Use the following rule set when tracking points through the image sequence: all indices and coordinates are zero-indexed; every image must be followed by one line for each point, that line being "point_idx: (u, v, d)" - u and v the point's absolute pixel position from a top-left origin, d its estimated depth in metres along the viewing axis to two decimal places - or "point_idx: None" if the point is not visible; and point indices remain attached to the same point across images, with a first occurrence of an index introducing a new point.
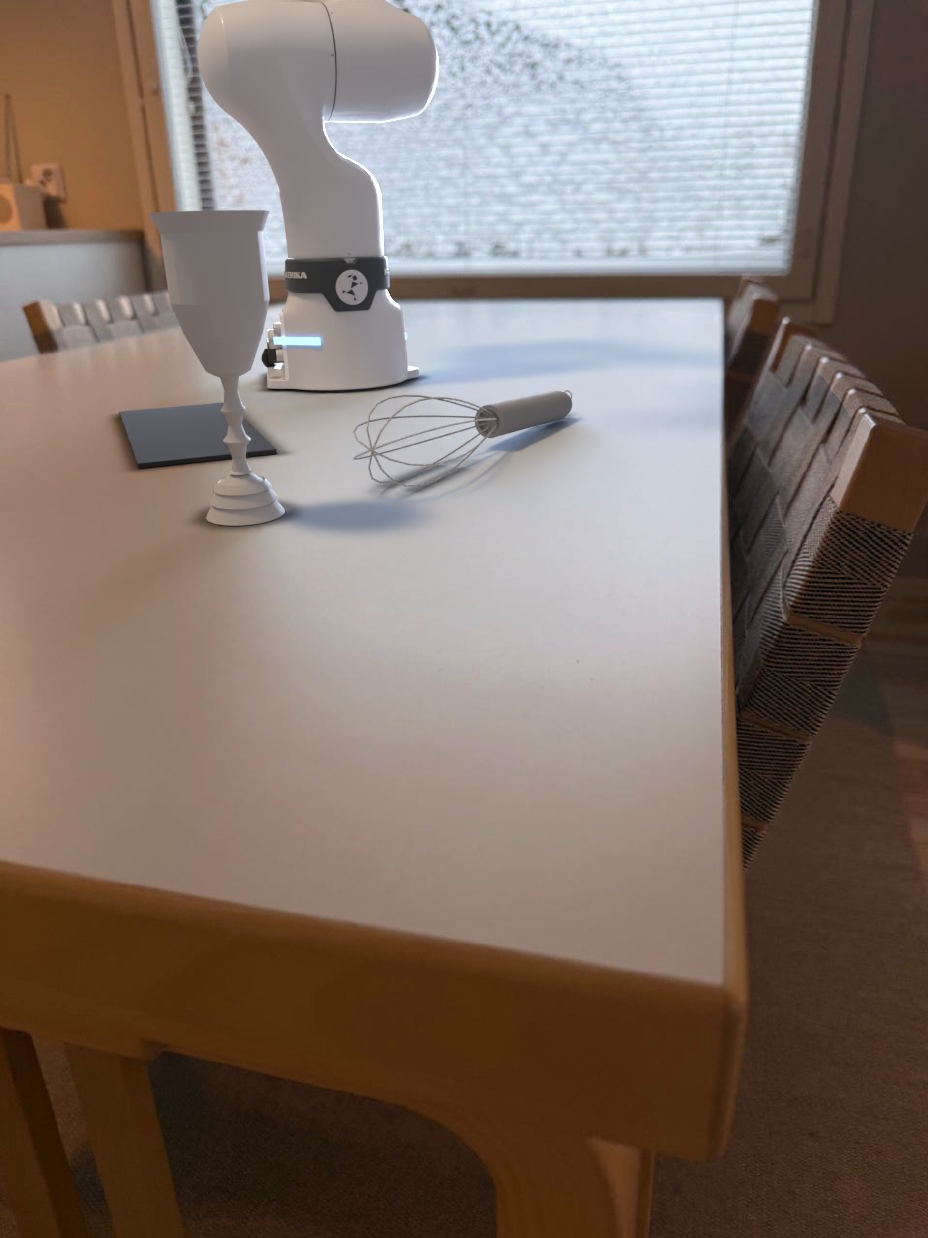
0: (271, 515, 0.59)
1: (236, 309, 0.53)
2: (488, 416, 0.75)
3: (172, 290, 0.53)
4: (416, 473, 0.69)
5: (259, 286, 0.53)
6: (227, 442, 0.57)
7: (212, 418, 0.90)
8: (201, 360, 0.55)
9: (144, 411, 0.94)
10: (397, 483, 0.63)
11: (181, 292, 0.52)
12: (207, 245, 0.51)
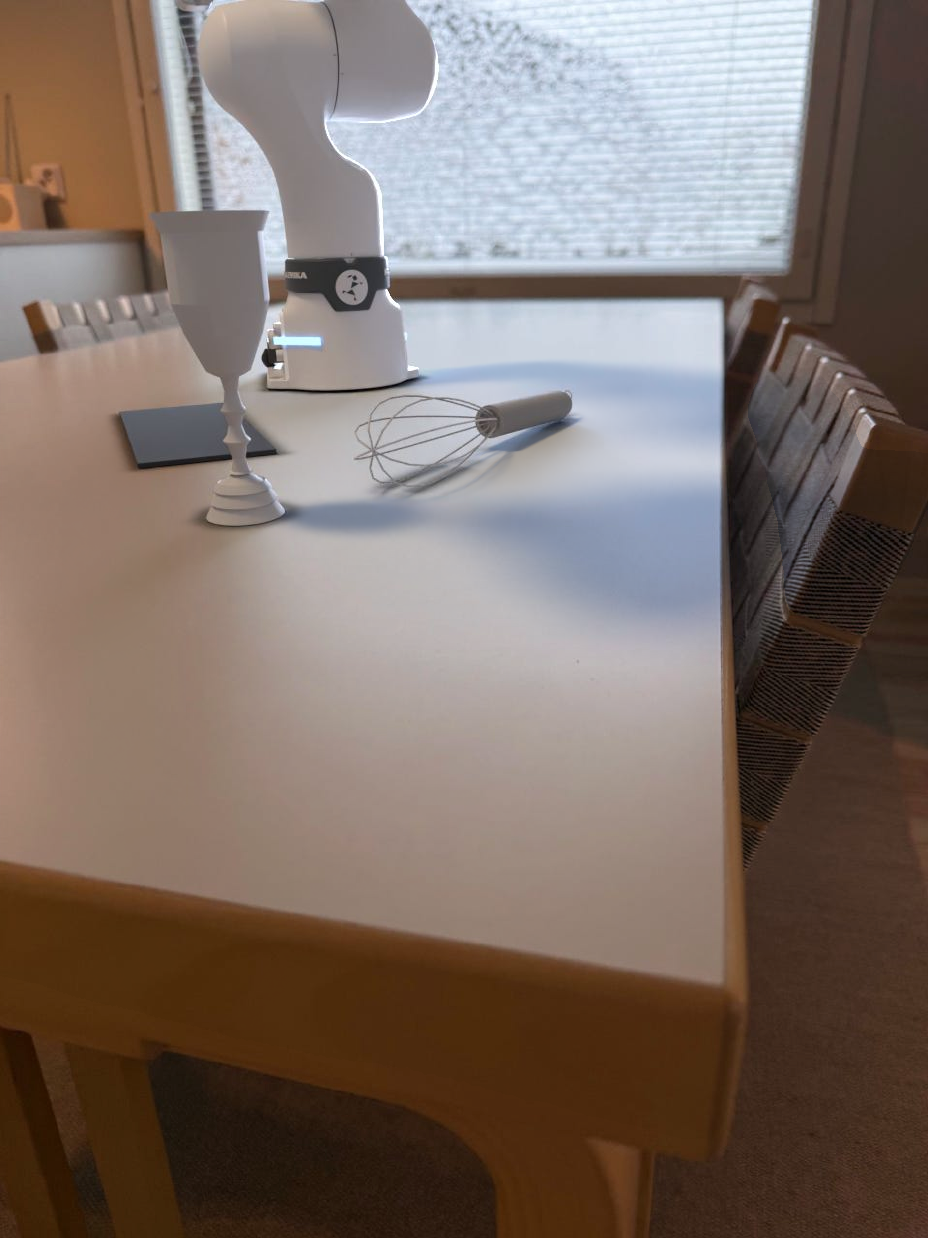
0: (271, 515, 0.59)
1: (236, 309, 0.53)
2: (489, 416, 0.75)
3: (172, 290, 0.53)
4: (417, 473, 0.69)
5: (259, 286, 0.53)
6: (227, 442, 0.57)
7: (212, 418, 0.90)
8: (201, 360, 0.55)
9: (144, 411, 0.94)
10: (398, 483, 0.63)
11: (181, 292, 0.52)
12: (207, 245, 0.51)
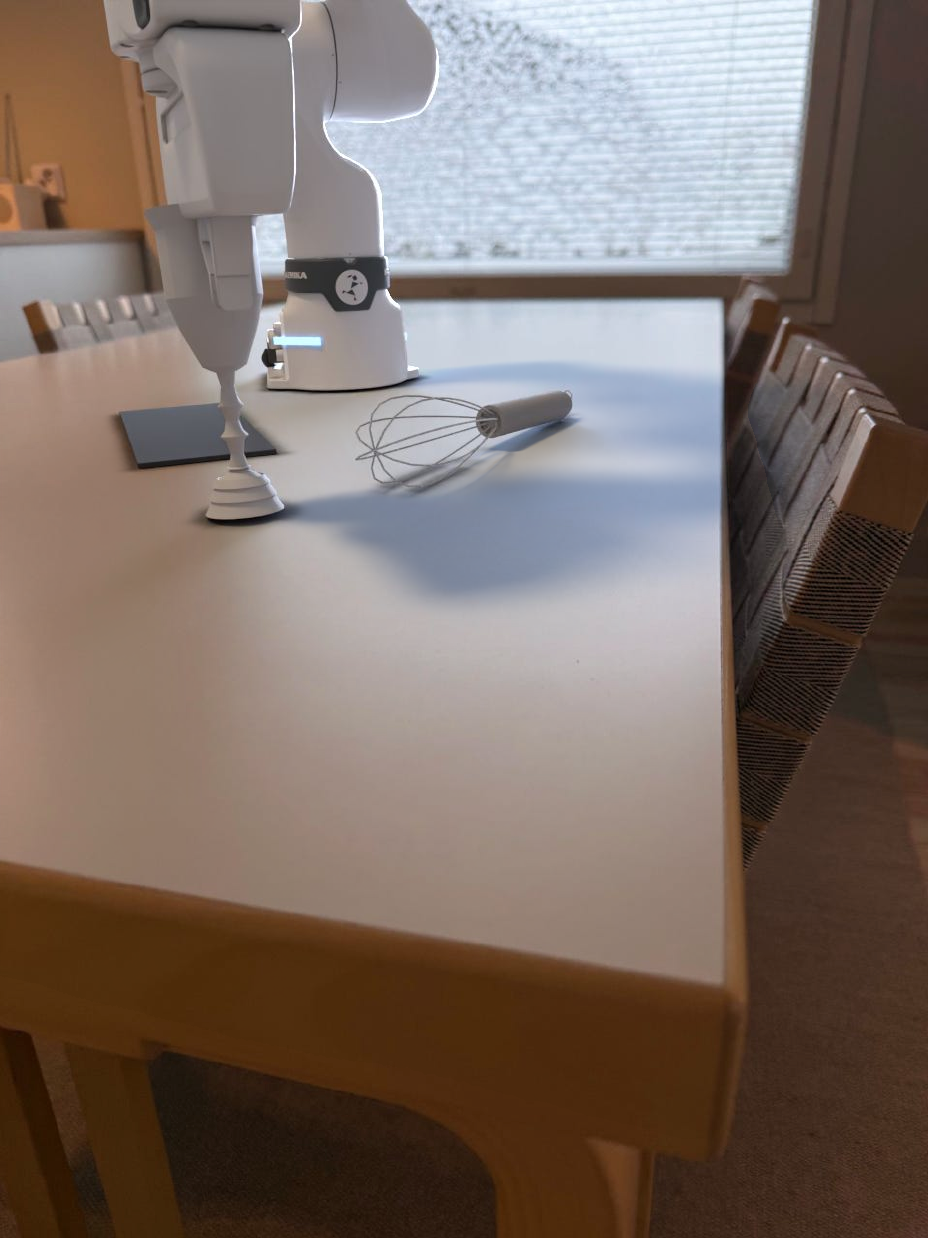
0: (270, 508, 0.59)
1: None
2: (489, 416, 0.75)
3: (167, 285, 0.54)
4: (418, 473, 0.69)
5: (252, 278, 0.54)
6: (225, 437, 0.58)
7: (212, 418, 0.90)
8: (197, 355, 0.56)
9: (144, 411, 0.94)
10: (400, 483, 0.63)
11: (175, 285, 0.53)
12: None
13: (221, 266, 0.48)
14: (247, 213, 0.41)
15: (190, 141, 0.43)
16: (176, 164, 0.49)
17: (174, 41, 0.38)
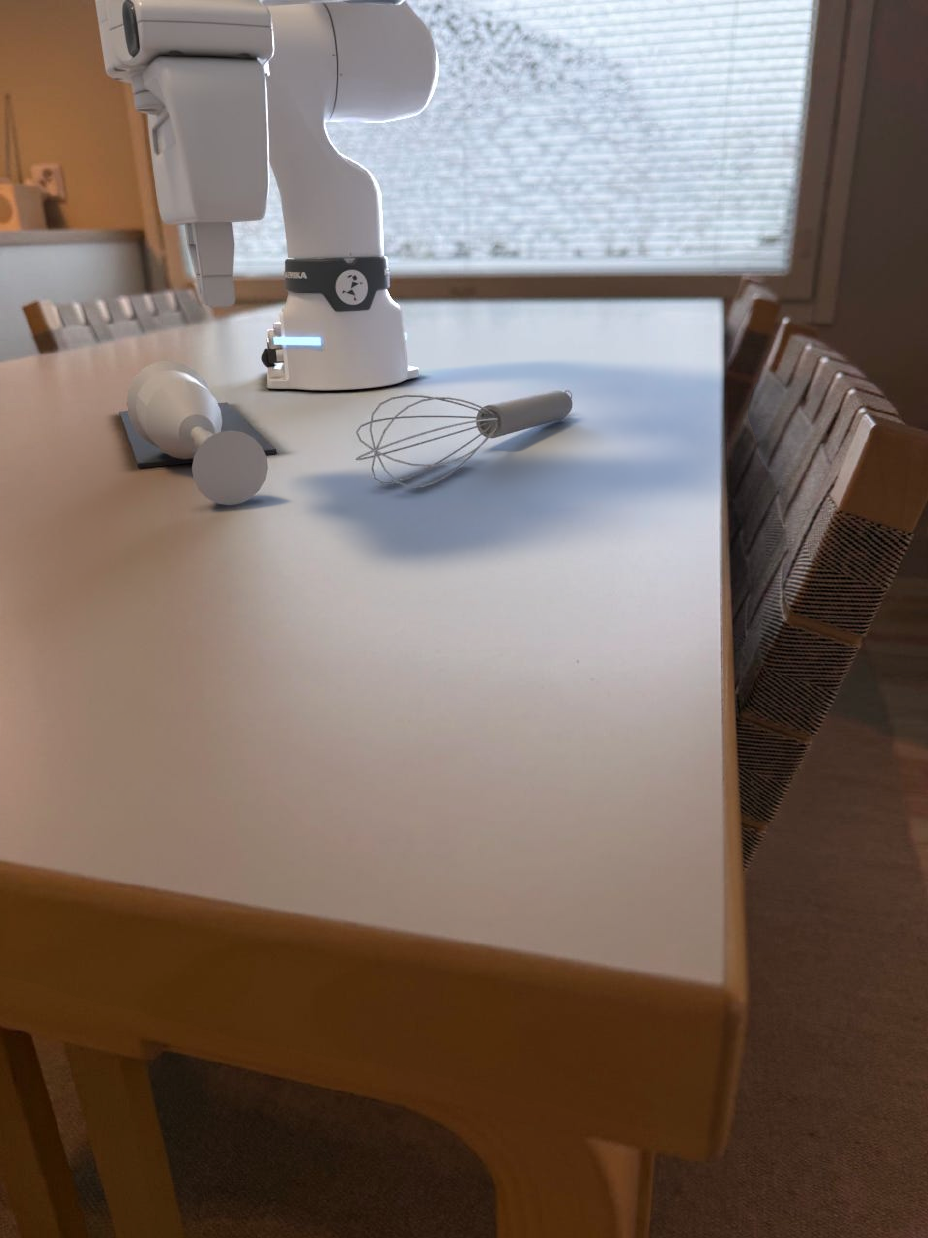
0: None
1: (182, 382, 0.70)
2: (489, 416, 0.75)
3: (144, 414, 0.71)
4: (418, 473, 0.69)
5: (201, 384, 0.72)
6: (201, 444, 0.64)
7: None
8: (171, 429, 0.68)
9: None
10: (400, 483, 0.63)
11: (146, 402, 0.70)
12: (157, 377, 0.72)
13: (206, 267, 0.54)
14: (226, 220, 0.46)
15: (176, 155, 0.49)
16: (165, 174, 0.55)
17: (160, 69, 0.44)
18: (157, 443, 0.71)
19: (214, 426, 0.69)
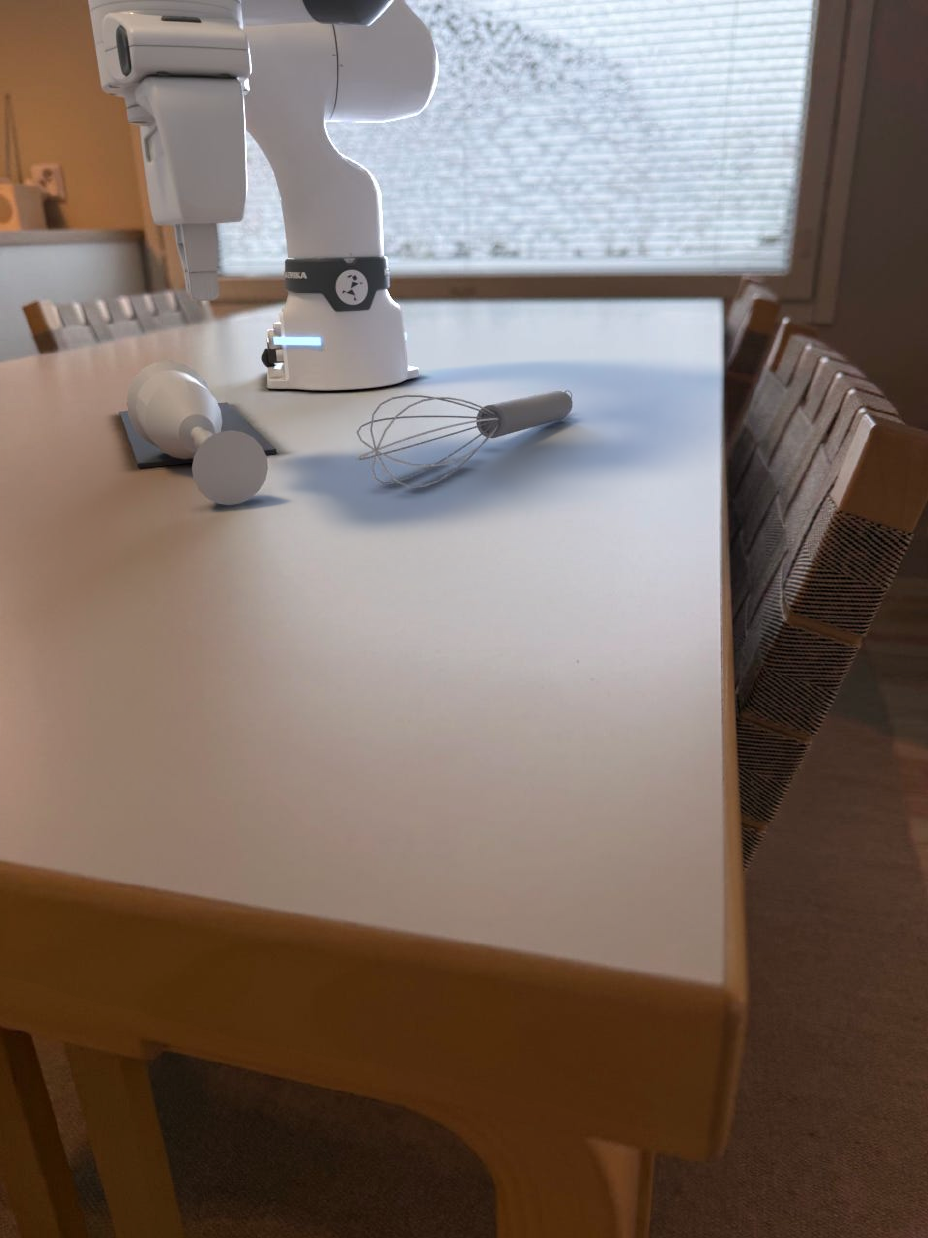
0: None
1: (182, 382, 0.70)
2: (490, 416, 0.75)
3: (144, 414, 0.71)
4: (419, 473, 0.69)
5: (201, 384, 0.72)
6: (201, 444, 0.64)
7: None
8: (171, 429, 0.68)
9: None
10: (401, 483, 0.63)
11: (146, 402, 0.70)
12: (158, 377, 0.72)
13: (193, 264, 0.59)
14: (209, 222, 0.52)
15: (165, 163, 0.54)
16: (156, 180, 0.60)
17: (150, 87, 0.49)
18: (157, 443, 0.71)
19: (214, 426, 0.69)
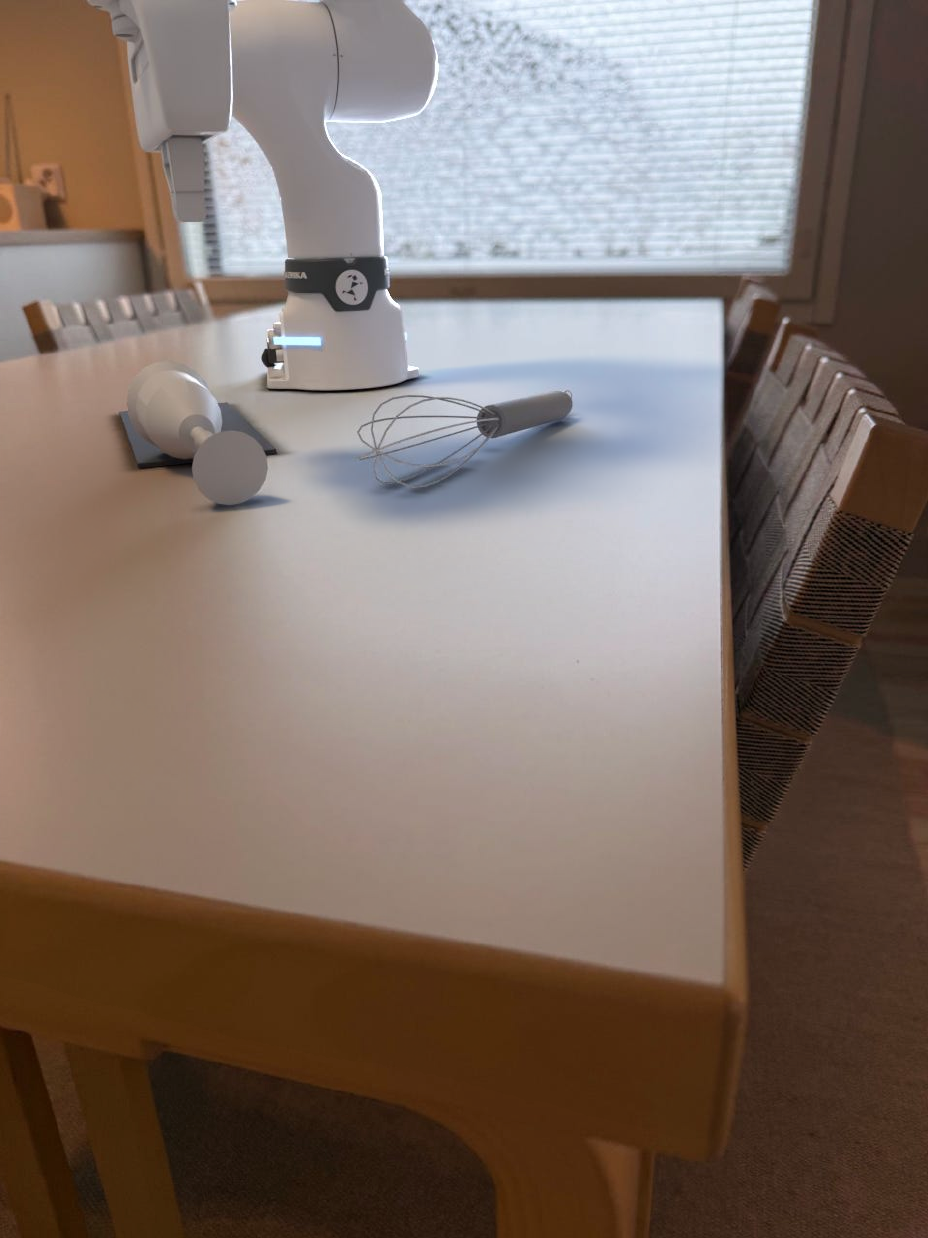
0: None
1: (182, 382, 0.70)
2: (490, 416, 0.75)
3: (144, 414, 0.71)
4: (419, 473, 0.69)
5: (201, 384, 0.72)
6: (201, 444, 0.64)
7: None
8: (171, 429, 0.68)
9: None
10: (402, 483, 0.63)
11: (146, 402, 0.70)
12: (158, 377, 0.72)
13: (179, 183, 0.58)
14: (194, 130, 0.51)
15: (150, 74, 0.53)
16: (142, 98, 0.59)
17: None
18: (157, 443, 0.71)
19: (214, 426, 0.69)
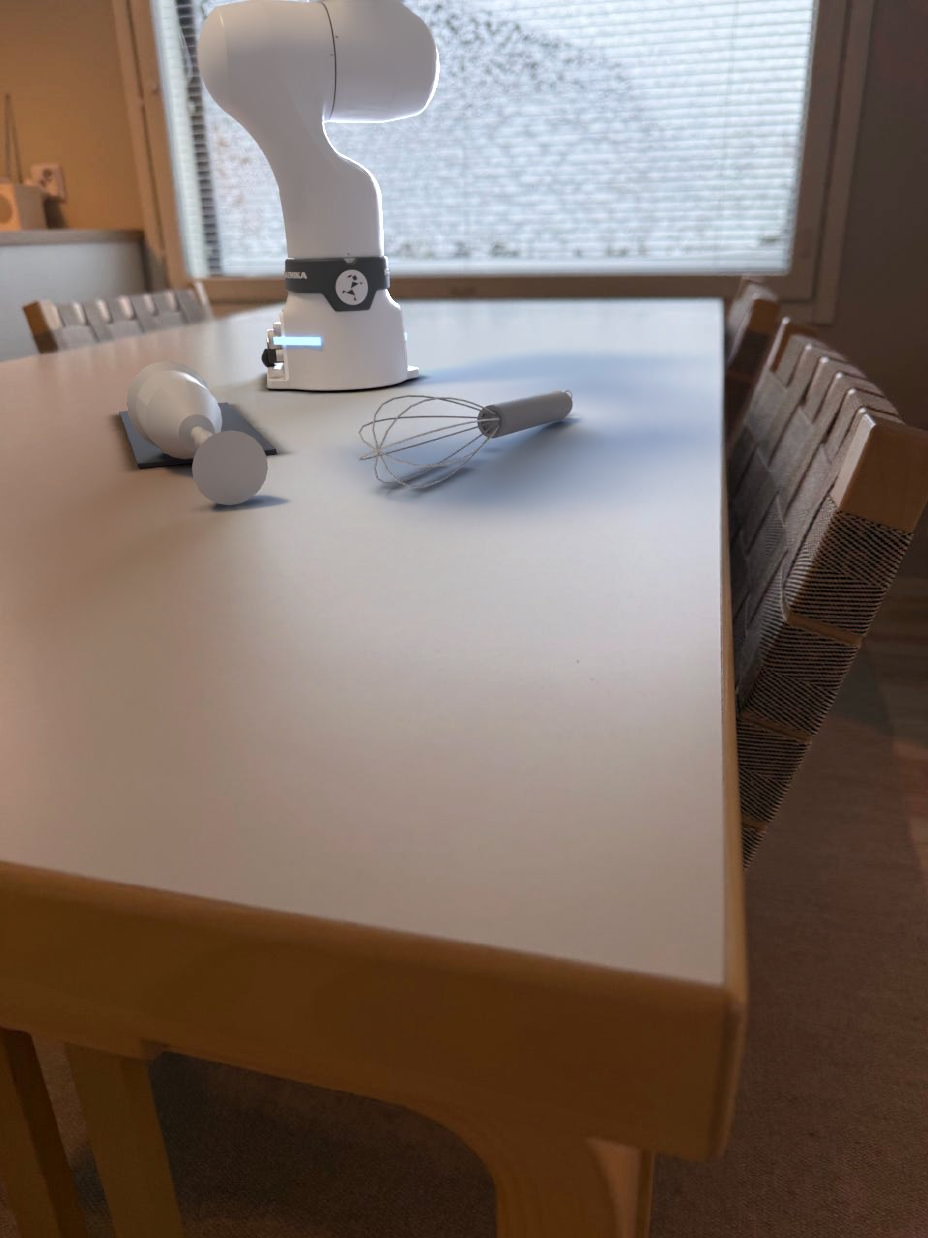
0: None
1: (182, 382, 0.70)
2: (491, 416, 0.75)
3: (144, 414, 0.71)
4: (420, 473, 0.69)
5: (201, 384, 0.72)
6: (201, 444, 0.64)
7: None
8: (171, 429, 0.68)
9: None
10: None
11: (146, 402, 0.70)
12: (158, 377, 0.72)
13: None
14: None
15: None
16: None
17: None
18: (157, 443, 0.71)
19: (214, 426, 0.69)
